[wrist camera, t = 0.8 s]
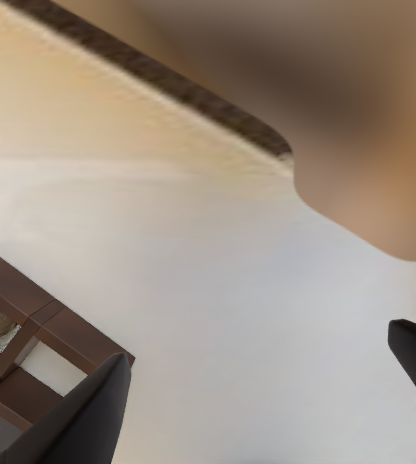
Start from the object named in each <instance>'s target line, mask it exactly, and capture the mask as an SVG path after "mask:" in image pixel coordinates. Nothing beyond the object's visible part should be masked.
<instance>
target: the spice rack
mask: <svg viewBox="0 0 416 464" xmlns="http://www.w3.org/2000/svg"><path fill="white" fill-rule="evenodd" d="M0 311H1V312H2V313H3V314H5V315H6V316H8V317H9V318H10V319H12V320H13V321H14V322H16V323H17V324H19V325H20V326H22V327H21V328H20V330H19V331H18V332H17V334H16V335H15V336H14V337H13V339H12V340H11V341H10V343H9V344H8V345H7V347H6V348H5V349H4V351H3V352H2V353H1V354H0V417H1V418H3V419H4V420H6V421H7V422H9V423H10V424H12V425H13V426H15V427H16V428H18V429H19V430H21V431H22V432H25V431H26V430H27V429H29V428H30V427H31V426H32V425H33V424H34V423H35V422H37V421H38V420H39V419H40V418H41V417H42V416H43V415H44V414H46V413H47V412H48V411H49V410H50V409H51V408H52V407H53V406H55V405H56V404H57V403H58V402H59V401H60V400H61V399H62V398H63V397H61V396H60V395H59V394H57V393H56V392H54V391H53V390H51V389H50V388H49V387H47V386H46V385H44V384H43V383H42V382H40V381H39V380H37V379H36V378H34V377H33V376H32V375H30V374H29V373H27V372H26V371H24V370H23V369H22V368H20V367H19V365H20V364H21V363H22V362H23V360H24V359H25V358H26V357H27V355H28V354H29V353H30V351H31V350H32V349H33V348H34V346H35V345H36V344H37V343H38V341H39V340H40V341H42V342H43V343H45V344H46V345H47V346H49V347H50V348H51V349H53V350H54V351H56V352H57V353H58V354H60V355H61V356H63V357H64V358H65V359H67V360H68V361H70V362H71V363H72V364H74V365H75V366H76V367H78V368H79V369H81V370H82V371H83V372H85V373H86V374H88V375H89V374H91V373H92V372H93V371H94V370H95V369H96V368H97V367H98V366H100V365H101V364H102V363H103V362H104V361H105V360H106V359H107V358H109V357H110V356H111V355H112V354H114V353H122V352H124V353H125V354H126V355H127V359H128V362H129V366H130V369H131V367H132V365H133V363H134V360H135V357H134V356H132V355H131V354H130V353H128V352H127V351H126V350H124V349H123V348H122V347H120V346H119V345H118V344H116V343H115V342H114V341H112V340H111V339H109V338H108V337H107V336H105V335H104V334H103V333H101V332H100V331H99V330H97V329H96V328H95V327H93V326H92V325H91V324H89V323H88V322H87V321H85V320H84V319H83V318H81V317H80V316H79V315H77V314H76V313H75V312H73V311H72V310H70V309H69V308H68V307H66V306H65V305H63V304H62V303H61V302H59V301H58V300H57V299H55V298H54V297H53V296H51V295H50V294H49V293H47V292H46V291H45V290H43V289H42V288H41V287H39V286H38V285H37V284H35V283H34V282H32V281H31V280H30V279H28V278H27V277H26V276H24V275H23V274H22V273H20V272H19V271H18V270H16V269H15V268H14V267H12V266H11V265H10V264H8V263H7V262H6V261H4V260H3V259H2V258H0Z"/></svg>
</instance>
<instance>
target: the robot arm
mask: <svg viewBox="0 0 416 464" xmlns="http://www.w3.org/2000/svg"><path fill="white" fill-rule="evenodd" d="M388 345H389V347H390V349H391V351H392V352H393V354H394V355H395V356H396V358H397V359H398V361H399V362H400V364H401V365H402V367H403V368H404V370H405V371H406V373H407V374H408V376H409V377H410V379H411V380H412V382H413V383H414V385H415V386H416V323H413V322H411V321H408V320H405V319H397V320H391V321H390V322H389V328H388ZM130 381H131V369H130V366H129V362H128V359H127V355H126V354H125V353H124V352H122V353H114V354H112V355H111V356H110V357H109V358H107V359H106V360H105V361H104V362H103V363H102V364H101V365H100V366H98V367H97V368H96V369H95V370H94V371H93V372H92V373H91V374H89V375H88V376H87V377H86V378H85V379H84V380H83V381H82V382H80V383H79V384H78V385H77V386H76V387H75V388H74V389H73V390H71V391H70V392H69V393H68V394H67V395H66V396H65V397H64V398H62V399H61V400H60V401H59V402H58V403H57V404H56V405H55V406H53V407H52V408H51V409H50V410H49V411H48V412H47V413H46V414H44V415H43V416H42V417H41V418H40V419H39V420H38V421H37V422H35V423H34V424H33V425H32V426H31V427H30V428H29V429H27V430H26V431H25V432H24V433H23V434H22V435H21V436H20V437H18V438H17V439H16V440H15V441H14V442H13V443H12V444H11V445H10V446H9V447H8V449H5V450H4V451H3V452H1V453H0V464H111V462H112V458H113V455H114V451H115V448H116V445H117V441H118V438H119V434H120V430H121V426H122V422H123V417H124V412H125V407H126V402H127V397H128V391H129V386H130Z"/></svg>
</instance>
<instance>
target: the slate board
mask: <svg viewBox="0 0 416 464" xmlns="http://www.w3.org/2000/svg"><path fill="white" fill-rule="evenodd" d="M23 433H24V432H22V431H21V430H19V429H18V428H16V427H15V426H13V425H12V424H10V423H9V422H7V421H6V420H4V419H3V418H1V417H0V453H1V452H3V451H4V450H5V449H8V447H9V446H10V445H11V444H12V443H13V442H14V441H15V440H16V439H17V438H18V437H20V436H21V435H22V434H23Z"/></svg>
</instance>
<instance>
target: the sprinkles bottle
mask: <svg viewBox="0 0 416 464" xmlns="http://www.w3.org/2000/svg"><path fill="white" fill-rule="evenodd" d="M15 325H16V322H14V321H13V320H12V319H10V318H9V317H8V316H6V315H5V314H3V313H2V312H1V311H0V336H3V335H5V334H7V333H8V332H10V331H11V330H12V329H13V328H14V327H15Z"/></svg>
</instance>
